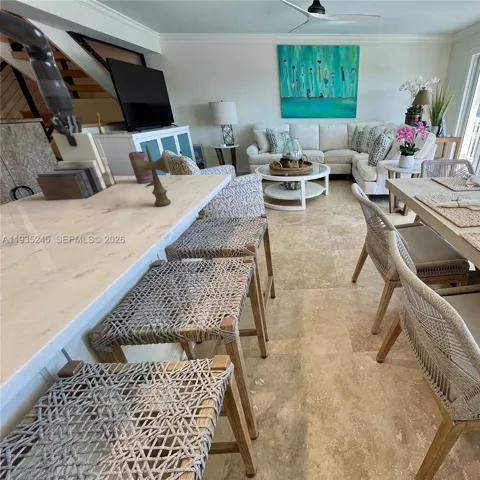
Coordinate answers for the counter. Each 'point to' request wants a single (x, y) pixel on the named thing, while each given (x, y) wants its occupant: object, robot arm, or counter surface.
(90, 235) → the counter surface
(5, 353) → the counter surface
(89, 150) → the cream book
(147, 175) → the can
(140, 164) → the kendama
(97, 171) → the book rack
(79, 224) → the counter surface
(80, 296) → the counter surface
